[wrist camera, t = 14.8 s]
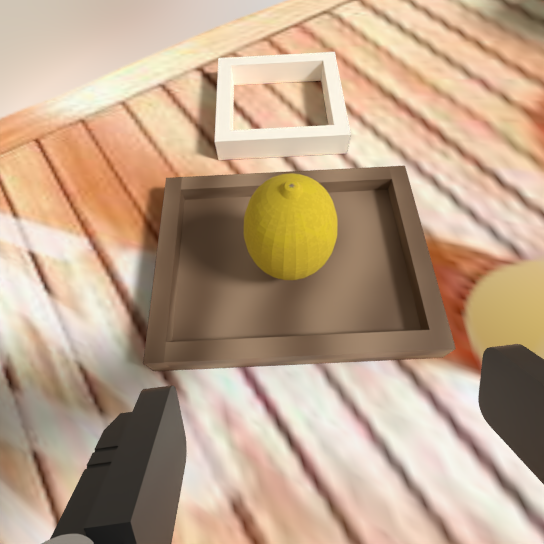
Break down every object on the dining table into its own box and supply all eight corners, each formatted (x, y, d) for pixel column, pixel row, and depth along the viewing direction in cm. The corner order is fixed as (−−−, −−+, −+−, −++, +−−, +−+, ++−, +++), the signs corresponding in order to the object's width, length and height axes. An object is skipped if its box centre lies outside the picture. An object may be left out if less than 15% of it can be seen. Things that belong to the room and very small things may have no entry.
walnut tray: (154, 371, 23) (143, 363, 21) (173, 195, 29) (166, 178, 28) (442, 357, 23) (455, 348, 21) (397, 183, 29) (404, 165, 27)
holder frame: (218, 160, 31) (214, 141, 29) (221, 78, 36) (218, 58, 34) (347, 153, 31) (351, 134, 29) (332, 72, 36) (334, 51, 34)
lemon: (249, 301, 24) (235, 233, 17) (249, 231, 27) (237, 146, 20) (333, 298, 24) (354, 229, 17) (325, 228, 27) (340, 142, 19)
